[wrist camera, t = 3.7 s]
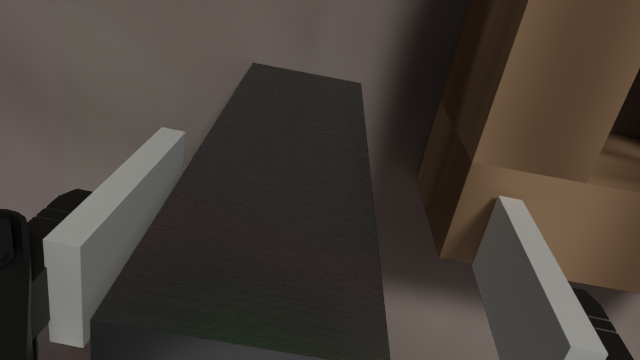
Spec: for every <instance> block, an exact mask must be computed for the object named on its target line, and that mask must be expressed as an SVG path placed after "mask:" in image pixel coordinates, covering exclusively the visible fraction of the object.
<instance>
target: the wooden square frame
mask: <svg viewBox="0 0 640 360" xmlns="http://www.w3.org/2000/svg"><path fill="white" fill-rule="evenodd" d="M639 68H640V0H470V1H469V5H468V8H467V11H466V15H465V18H464V21H463V25H462V28H461V32H460V35H459V38H458V42H457V45H456V48H455V52H454V55H453V58H452V62H451V65H450V68H449V72H448V75H447V79H446V82H445V85H444V89H443V92H442V95H441V99H440V102H439V105H438V109H437V112H436V115H435V119H434V122H433V125H432V129H431V132H430V136H429V139H428V142H427V146H426V149H425V152H424V156H423V159H422V162H421V166H420V169H419V172H418V176H417V182H418V185H419V189H420V192H421V196H422V199H423V203H424V206H425V210H426V214H427V217H428V221H429V224H430V228H431V231H432V235H433V238H434V242H435V245H436V249H437V253H438V256H439V258H441V259H447V260H452V261H458V262H464V263H469V264H473V262H474V259H475V256H476V254H477V251H478V248H479V246H480V243H481V240H482V238H483V235H484V233H485V230H486V227H487V225H488V222H489V219H490V217H491V214H492V211H493V209H494V206H495V204H496V201H497V198H498V196H504V197H509V198H514V199H519V200H523V202H524V204H525V206H526V208H527V209H528V211H529V213H530V215H531V217H532V218H533V220H534V222H535V224H536V225H537V227H538V229H539V231H540V233H541V234H542V236H543V238H544V240H545V242H546V243H547V245H548V247H549V249H550V251H551V252H552V254H553V256H554V258H555V259H556V261H557V263H558V265H559V267H560V268H561V270H562V272H563V274H564V276H565V277H566V279H567V281H571V282H577V283H583V284H588V285H594V286H600V287H605V288H611V289H617V290H622V291H628V292H634V293H639V294H640V139H637V138H632V137H626V136H621V135H616V134H611V133H610V131H611V129H612V127H613V124H614V122H615V120H616V118H617V116H618V114H619V111H620V109H621V107H622V105H623V103H624V101H625V99H626V96H627V94H628V92H629V90H630V88H631V86H632V84H633V81H634V79H635V77H636V75H637V73H638V71H639Z"/></svg>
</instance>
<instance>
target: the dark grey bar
mask: <svg viewBox="0 0 640 360" xmlns="http://www.w3.org/2000/svg"><path fill="white" fill-rule="evenodd" d="M90 346H91V360H390V351H389V341H388V332H387V323H386V313H385V304H384V295H383V285H382V276H381V267H380V257H379V248H378V239H377V229H376V220H375V211H374V201H373V192H372V183H371V173H370V164H369V155H368V145H367V136H366V126H365V117H364V108H363V98H362V89H361V83H356V82H351V81H346V80H341V79H335V78H330V77H325V76H320V75H314V74H309V73H304V72H299V71H293V70H288V69H283V68H278V67H272V66H267V65H262V64H257V63H253V64H252V65H251V67H250V69H249V70H248V72H247V73H246V75H245V76H244V78H243V80H242V81H241V83H240V84H239V86H238V88H237V89H236V91H235V92H234V94H233V95H232V97H231V99H230V100H229V102H228V103H227V105H226V106H225V108H224V110H223V111H222V113H221V114H220V116H219V117H218V119H217V121H216V122H215V124H214V125H213V127H212V128H211V130H210V132H209V133H208V135H207V136H206V138H205V140H204V141H203V143H202V144H201V146H200V147H199V149H198V151H197V152H196V154H195V155H194V157H193V158H192V160H191V162H190V163H189V165H188V166H187V168H186V169H185V171H184V173H183V174H182V176H181V177H180V179H179V180H178V182H177V184H176V185H175V187H174V188H173V190H172V192H171V193H170V195H169V196H168V198H167V199H166V201H165V203H164V204H163V206H162V207H161V209H160V210H159V212H158V214H157V215H156V217H155V218H154V220H153V221H152V223H151V225H150V226H149V228H148V229H147V231H146V233H145V234H144V236H143V237H142V239H141V240H140V242H139V244H138V245H137V247H136V248H135V250H134V251H133V253H132V255H131V256H130V258H129V259H128V261H127V262H126V264H125V266H124V267H123V269H122V270H121V272H120V273H119V275H118V277H117V278H116V280H115V281H114V283H113V285H112V286H111V288H110V289H109V291H108V292H107V294H106V296H105V297H104V299H103V300H102V302H101V303H100V305H99V307H98V308H97V310H96V311H95V313H94V314H93V316H92V318H91V319H90Z"/></svg>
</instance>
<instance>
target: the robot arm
mask: <svg viewBox="0 0 640 360" xmlns="http://www.w3.org/2000/svg"><path fill="white" fill-rule="evenodd" d="M185 136H186V132H183V131H178V130H173V129H168V128H163V127H162V128H161V129H160V130H159V131H157V132H156V133H155V134H154V135H153V136H152V137H151V138H150V139H149V140H148V141H147V142H146V143H145V144H144V145H143V146H142V147H140V148H139V149H138V150H137V151H136V152H135V153H134V154H133V155H132V156H131V157H130V158H129V159H128V160H127V161H126V162H125V163H123V164H122V165H121V166H120V167H119V168H118V169H117V170H116V171H115V172H114V173H113V174H112V175H111V176H110V177H109V178H108V179H106V180H105V181H104V182H103V183H102V184H101V185H100V186H99V187H98V188H97V189H96V190H95V191H94V192H91V191H86V190H81V189H75V190H72V191H70V192H68V193H65V194H63V195H60V196H58V197H57V198H56V199H55V200H54V201H52V202H51V203H50V204H49V205H48V206H47V208H46V209H45V208H44V209H43V210H42V211H41V212H39V213H38V214H37V216H36V217H34V218H32V219H31V220H30V221H29V222H28V223H27V220H26V218H25V216H23V215H21V214H20V213H18V212H16V211H12V210H8V209H0V360H38V343H37V335H38V334H39V333H40V332H41V331H42V329H43V328H44V327H45V326H46V325H47V323H48V322H49V337H50V342H55V343H60V344H65V345H70V346H75V347H80V348H84V346H85V345H86V343H87V342H88V340H89V339H90V319H91V318H92V316H93V314H94V313H95V311H96V310H97V308H98V307H99V305H100V303H101V302H102V300H103V299H104V297H105V296H106V294H107V292H108V291H109V289H110V288H111V286H112V285H113V283H114V281H115V280H116V278H117V277H118V275H119V273H120V272H121V270H122V269H123V267H124V266H125V264H126V262H127V261H128V259H129V258H130V256H131V255H132V253H133V251H134V250H135V248H136V247H137V245H138V244H139V242H140V240H141V239H142V237H143V236H144V234H145V233H146V231H147V229H148V228H149V226H150V225H151V223H152V221H153V220H154V218H155V217H156V215H157V214H158V212H159V210H160V209H161V207H162V206H163V204H164V203H165V201H166V199H167V198H168V196H169V195H170V193H171V192H172V190H173V188H174V187H175V185H176V184H177V182H178V180H179V179H180V177H181V176H182V174H183V164H184V150H185ZM472 268H473V272H474V275H475V278H476V282H477V285H478V288H479V292H480V295H481V298H482V302H483V305H484V308H485V312H486V315H487V318H488V322H489V325H490V329H491V332H492V335H493V339H494V342H495V345H496V349H497V352H498V355H499V359H500V360H634V359H633V357H632V356H631V354H630V353H629V351H628V349H627V348H626V346H625V344H624V343H623V341H622V339H621V338H620V336H619V335H618V334H616V330H615V328H614V326H613V325H612V323H611V322H609V318H608V316H607V315H606V313H605V312H604V310H603V308H602V307H601V305H600V304H599V303H598V302H597V301H596V300H595V299H594V298H593V297H591V296H590V295H589V294H588V293H587V292H586V291H585V290H580V289H576V288H571V286H570V285H569V283H568V281H567V279H566V277H565V276H564V274H563V272H562V270H561V268H560V267H559V265H558V263H557V261H556V259H555V258H554V256H553V254H552V252H551V251H550V249H549V247H548V245H547V243H546V242H545V240H544V238H543V236H542V234H541V233H540V231H539V229H538V227H537V225H536V224H535V222H534V220H533V218H532V217H531V215H530V213H529V211H528V209H527V208H526V206H525V204H524V202H523V200H519V199H514V198H509V197H504V196H498V198H497V201H496V204H495V206H494V209H493V211H492V214H491V217H490V219H489V222H488V225H487V227H486V230H485V233H484V235H483V238H482V240H481V243H480V246H479V248H478V251H477V254H476V256H475V259H474V262H473V264H472Z"/></svg>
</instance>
